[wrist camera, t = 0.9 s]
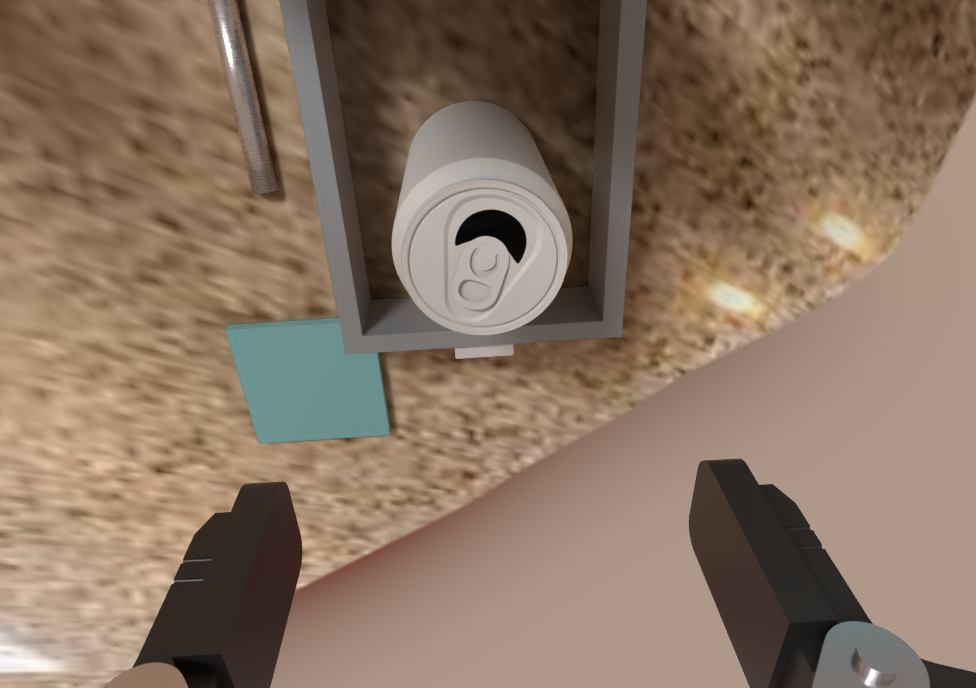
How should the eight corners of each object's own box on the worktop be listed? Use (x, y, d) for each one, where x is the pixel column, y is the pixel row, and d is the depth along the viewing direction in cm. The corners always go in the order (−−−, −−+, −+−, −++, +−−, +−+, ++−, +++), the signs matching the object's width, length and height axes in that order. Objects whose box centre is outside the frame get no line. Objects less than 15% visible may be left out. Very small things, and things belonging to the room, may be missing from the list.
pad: (228, 324, 35) (225, 330, 35) (373, 315, 36) (372, 320, 35) (261, 437, 39) (258, 443, 39) (390, 428, 40) (389, 434, 39)
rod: (220, -22, 26) (238, -23, 27) (195, -20, 26) (214, -22, 27) (268, 194, 31) (282, 186, 32) (247, 192, 31) (261, 185, 32)
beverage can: (556, 122, 31) (610, 202, 20) (511, 241, 34) (539, 364, 23) (428, 78, 29) (417, 140, 19) (394, 207, 32) (368, 320, 22)
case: (289, -68, 26) (265, -73, 23) (627, -84, 27) (653, -91, 23) (357, 329, 36) (347, 367, 32) (604, 313, 36) (620, 350, 33)
